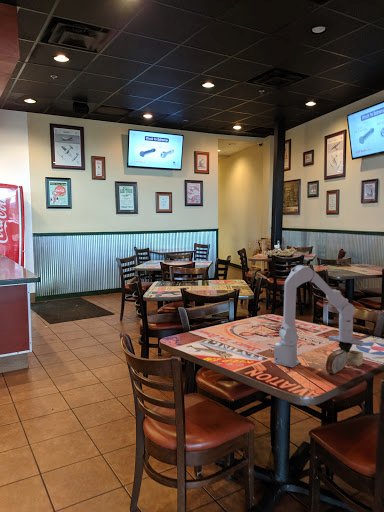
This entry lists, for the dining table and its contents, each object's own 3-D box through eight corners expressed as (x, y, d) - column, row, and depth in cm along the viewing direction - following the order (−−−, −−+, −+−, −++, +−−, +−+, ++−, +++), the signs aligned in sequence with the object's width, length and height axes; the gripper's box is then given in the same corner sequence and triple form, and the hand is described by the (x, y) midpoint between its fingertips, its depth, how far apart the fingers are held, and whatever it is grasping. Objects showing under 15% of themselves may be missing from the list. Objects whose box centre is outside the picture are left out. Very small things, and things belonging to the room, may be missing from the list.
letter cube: (346, 364, 170) (347, 352, 170) (350, 360, 174) (351, 349, 173) (358, 366, 167) (358, 354, 166) (362, 363, 170) (362, 351, 170)
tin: (341, 365, 169) (341, 346, 168) (348, 367, 166) (348, 348, 166) (324, 375, 158) (325, 355, 158) (332, 377, 156) (332, 356, 155)
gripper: (365, 329, 170) (365, 359, 171) (332, 324, 179) (332, 353, 180) (360, 333, 165) (360, 364, 166) (327, 327, 174) (326, 357, 175)
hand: (345, 358), depth 173 cm, fingers closed
